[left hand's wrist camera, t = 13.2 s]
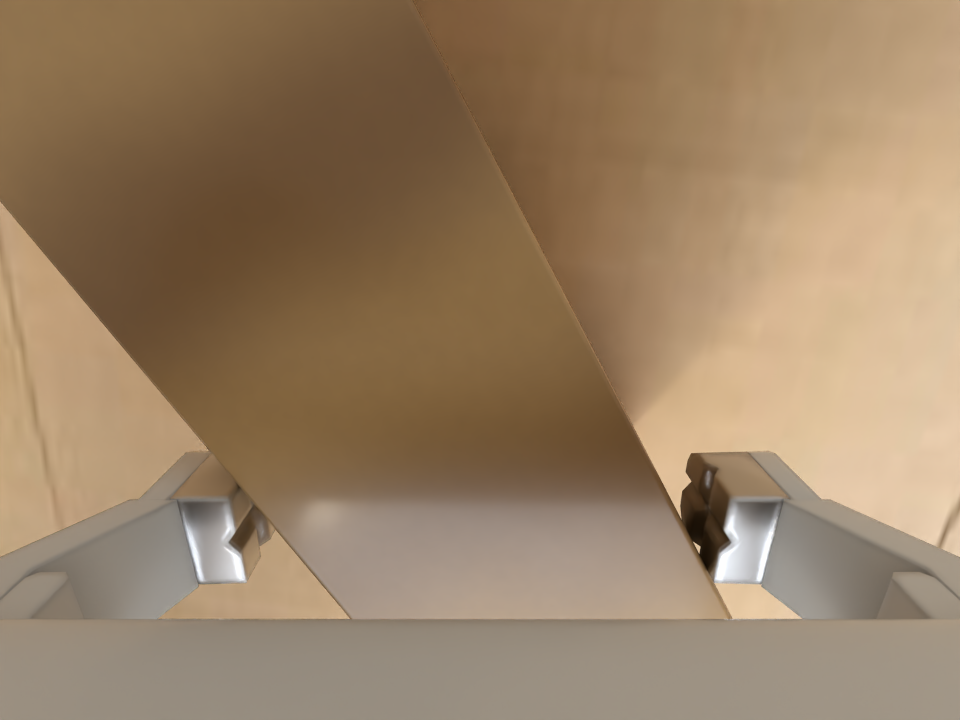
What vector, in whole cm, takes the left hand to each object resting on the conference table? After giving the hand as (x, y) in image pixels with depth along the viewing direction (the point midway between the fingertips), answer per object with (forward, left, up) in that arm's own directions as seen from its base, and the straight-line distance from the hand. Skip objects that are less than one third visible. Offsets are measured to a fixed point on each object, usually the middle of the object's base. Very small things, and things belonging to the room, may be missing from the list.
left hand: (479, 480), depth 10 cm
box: (-1, +5, -8) cm, 10 cm away
